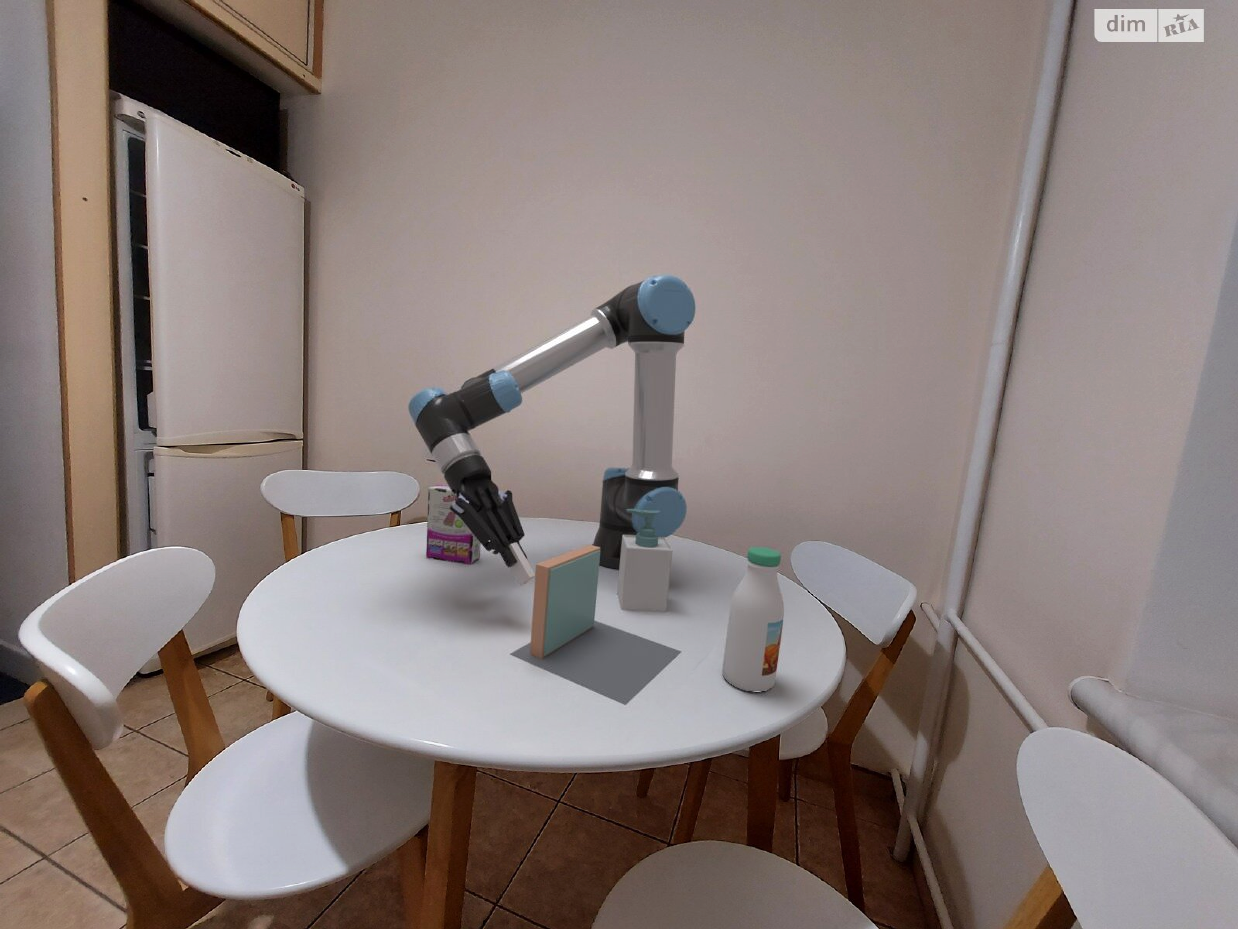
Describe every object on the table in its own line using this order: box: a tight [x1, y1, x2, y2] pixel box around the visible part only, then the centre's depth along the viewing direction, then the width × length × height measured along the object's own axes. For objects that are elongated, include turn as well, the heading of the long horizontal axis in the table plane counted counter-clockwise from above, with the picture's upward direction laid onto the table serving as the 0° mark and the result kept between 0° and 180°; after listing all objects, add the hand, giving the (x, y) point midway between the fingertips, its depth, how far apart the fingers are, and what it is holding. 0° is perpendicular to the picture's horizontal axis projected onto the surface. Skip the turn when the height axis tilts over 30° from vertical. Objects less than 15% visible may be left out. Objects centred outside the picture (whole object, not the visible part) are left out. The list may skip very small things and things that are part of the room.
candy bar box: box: [425, 484, 482, 565], centre depth 117 cm, size 11×5×16 cm, turn 81°
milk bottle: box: [721, 546, 785, 692], centre depth 76 cm, size 8×8×20 cm
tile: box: [530, 544, 600, 659], centre depth 82 cm, size 2×14×14 cm, turn 149°
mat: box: [509, 620, 682, 706], centre depth 79 cm, size 20×18×1 cm
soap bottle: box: [616, 509, 673, 613], centre depth 100 cm, size 9×9×19 cm
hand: (527, 580), depth 85 cm, fingers closed
